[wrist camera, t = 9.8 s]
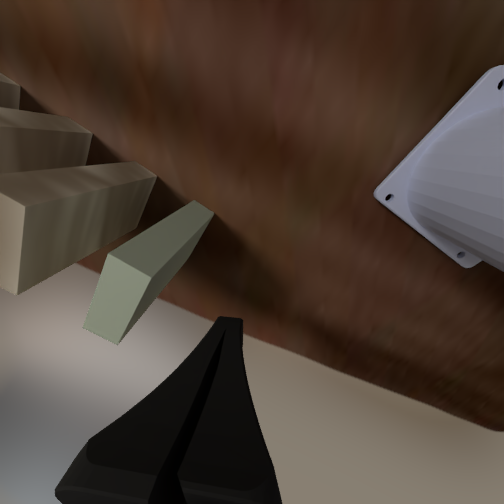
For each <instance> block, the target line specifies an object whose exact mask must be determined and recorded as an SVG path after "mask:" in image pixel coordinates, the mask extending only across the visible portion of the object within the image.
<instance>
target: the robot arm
mask: <svg viewBox="0 0 504 504" xmlns="http://www.w3.org/2000/svg"><path fill="white" fill-rule="evenodd" d="M501 80H502V82H503V85H502V87H501V89H500V90H498V84H499V82H500V81H501ZM388 194H391V198H390V199H389V200H387V201H386V200H385V198H386V196H387V195H388ZM374 197H375V198H376V199H377V200H378V201H379V202H380V203H382V204H383V205H384V206H386V207H387V208H388V209H389V210H391V211H392V212H393V213H394V214H396V215H397V216H398V217H400V218H401V219H402V220H403V221H405V222H406V223H407V224H408V225H410V226H411V227H412V228H414V229H415V230H416V231H417V232H419V233H420V234H421V235H422V236H424V237H425V238H426V239H428V240H429V241H430V242H431V243H433V244H434V245H435V246H436V247H438V248H439V249H440V250H442V251H443V252H444V253H445V254H447V255H448V256H449V257H450V258H452V259H453V260H454V261H456V262H457V263H458V264H459V265H461V266H462V267H464V268H470V267H473V266H475V265H476V264H478V263H479V262H481V261H482V260H483V261H485V262H487V263H488V264H490V265H492V266H494V267H496V268H497V269H499V270H501V271H503V272H504V65H499V66H497V67H494V68H492V69H490V70H488V71H487V72H486V73H485V74H484V75H483V76H482V77H481V78H480V79H479V80H478V81H477V82H476V83H475V84H474V85H473V86H472V88H471V89H470V90H469V91H468V92H467V93H466V94H465V95H464V96H463V97H462V98H461V99H460V100H459V101H458V102H457V103H456V104H455V106H454V107H453V108H452V109H451V110H450V111H449V112H448V113H447V114H446V115H445V116H444V117H443V118H442V119H441V120H440V121H439V122H438V123H437V125H436V126H435V127H434V128H433V129H432V130H431V131H430V132H429V133H428V134H427V135H426V136H425V137H424V138H423V139H422V140H421V141H420V143H419V144H418V145H417V146H416V147H415V148H414V149H413V150H412V151H411V152H410V153H409V154H408V155H407V156H406V157H405V158H404V159H403V160H402V162H401V163H400V164H399V165H398V166H397V167H396V168H395V169H394V170H393V171H392V172H391V173H390V174H389V175H388V176H387V177H386V178H385V180H384V181H383V182H382V183H381V184H380V185H379V186H378V187H377V188H376V189H375V191H374ZM459 252H461V253H460V254H459V255H457V254H458V253H459ZM242 346H243V320H242V319H241V318H232V317H223V316H219V317H218V318H217V320H216V321H215V323H214V324H213V326H212V327H211V328H210V330H209V331H208V333H207V334H206V335H205V337H204V338H203V339H202V340H201V341H200V343H199V344H198V345H197V347H196V348H195V349H194V350H193V351H192V352H191V353H190V355H189V356H188V357H187V358H186V359H185V360H184V361H183V362H182V363H181V364H180V365H179V367H178V368H177V369H176V370H175V371H174V372H173V373H172V374H171V375H169V377H167V378H166V379H165V380H164V381H163V382H162V383H161V384H160V385H159V386H158V387H156V388H155V389H154V390H153V391H152V392H151V393H150V394H148V395H147V396H146V397H145V398H144V399H143V400H141V401H140V402H139V403H137V404H136V405H135V406H134V407H133V408H131V409H130V410H129V411H127V412H126V413H125V414H124V415H122V416H121V417H120V418H118V419H117V420H115V421H114V422H113V423H111V424H110V425H109V426H107V427H106V428H104V429H103V430H101V431H100V432H99V433H97V434H96V435H94V436H93V437H92V438H90V439H89V440H88V442H87V443H86V444H85V446H84V447H83V448H82V450H81V451H80V452H79V454H78V455H77V457H76V458H75V459H74V461H73V462H72V464H71V466H70V467H69V468H68V470H67V472H66V473H65V475H64V476H63V478H62V479H61V481H60V482H59V484H58V485H57V487H56V489H55V496H56V497H57V499H58V500H59V501H60V502H61V503H62V504H282V500H281V496H280V491H279V487H278V483H277V479H276V475H275V470H274V466H273V463H272V460H271V458H270V455H269V452H268V449H267V446H266V444H265V441H264V438H263V435H262V432H261V429H260V425H259V422H258V419H257V415H256V412H255V408H254V405H253V401H252V397H251V393H250V389H249V385H248V381H247V376H246V370H245V365H244V358H243V350H242Z"/></svg>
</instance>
